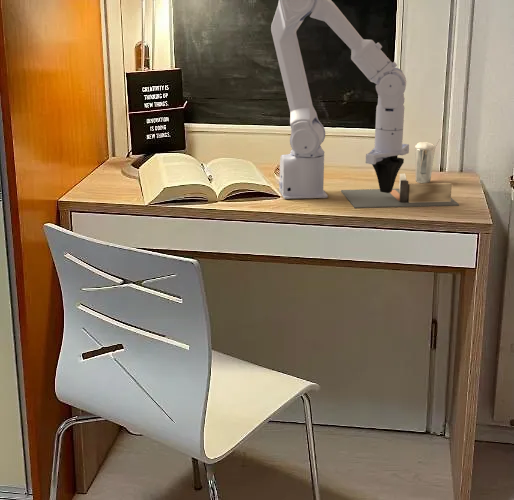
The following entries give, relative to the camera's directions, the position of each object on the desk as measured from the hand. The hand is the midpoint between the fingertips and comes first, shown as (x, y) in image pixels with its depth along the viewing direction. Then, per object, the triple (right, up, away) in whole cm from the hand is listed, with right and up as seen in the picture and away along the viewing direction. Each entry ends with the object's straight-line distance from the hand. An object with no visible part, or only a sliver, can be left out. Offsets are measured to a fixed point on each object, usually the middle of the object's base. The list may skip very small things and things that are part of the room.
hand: (385, 191), depth 191 cm
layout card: (+3, -1, +1) cm, 3 cm away
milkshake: (+11, +3, +16) cm, 19 cm away
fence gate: (+4, 0, +2) cm, 5 cm away
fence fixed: (+8, -2, -2) cm, 8 cm away
